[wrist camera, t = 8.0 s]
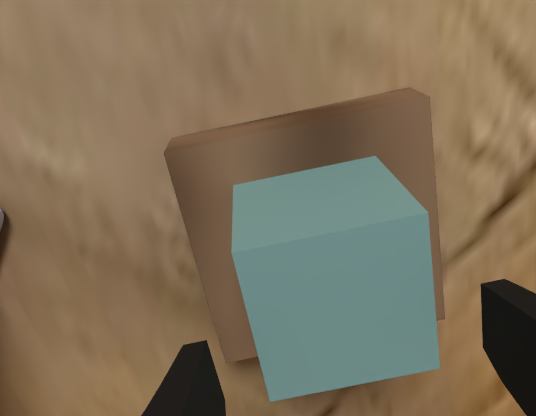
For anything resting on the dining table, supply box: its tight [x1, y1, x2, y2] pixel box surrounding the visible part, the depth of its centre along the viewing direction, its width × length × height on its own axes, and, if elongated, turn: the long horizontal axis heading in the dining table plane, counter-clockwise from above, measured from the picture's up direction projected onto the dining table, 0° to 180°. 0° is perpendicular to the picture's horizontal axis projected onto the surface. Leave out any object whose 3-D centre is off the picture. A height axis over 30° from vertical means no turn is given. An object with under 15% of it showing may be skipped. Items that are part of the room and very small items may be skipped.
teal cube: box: [231, 156, 440, 402], centre depth 15 cm, size 5×5×5 cm
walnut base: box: [164, 88, 445, 363], centre depth 19 cm, size 9×9×2 cm
